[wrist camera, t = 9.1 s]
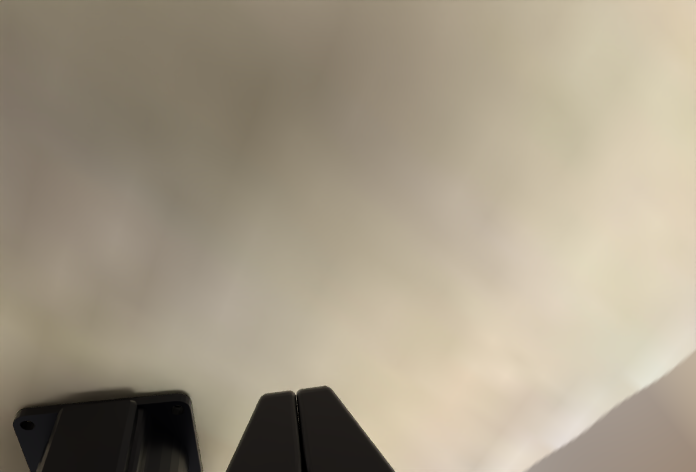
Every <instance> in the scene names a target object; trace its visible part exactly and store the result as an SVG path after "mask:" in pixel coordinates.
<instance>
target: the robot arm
mask: <svg viewBox="0 0 696 472" xmlns="http://www.w3.org/2000/svg"><path fill="white" fill-rule="evenodd" d="M296 397H297V401H296ZM174 406H181V407H174ZM297 408H298V410H297ZM298 418H299V420H298ZM28 421H31V422H28ZM13 427H14V430H15V432H16V435H17V438H18V440H19V443H20V446H21V448H22V451H23V453H24V456H25V459H26V461H27V464H28V466H29V469H30V472H203V468H202V462H201V456H200V450H199V444H198V438H197V432H196V426H195V420H194V414H193V408H192V402H191V400H190V398H189V397H188V396H187V395H184V394H178V393H176V394H166V395H156V396H145V397H135V398H125V399H114V400H104V401H94V402H84V403H73V404H63V405H53V406H42V407H32V408H25V409H22V410H20V411H19V412H18V413H17V415H16V417H15V420H14V422H13ZM299 428H300V429H299ZM226 472H395V471H394V469H393V468H392V467H391V466H390V464H389V463H388V462H387V460H386V459H385V458H384V456H383V455H382V454H381V453H380V451H379V450H378V449H377V447H376V446H375V445H374V443H373V442H372V441H371V440H370V438H369V437H368V436H367V434H366V433H365V432H364V430H363V429H362V428H361V427H360V425H359V424H358V423H357V421H356V420H355V419H354V417H353V416H352V415H351V414H350V412H349V411H348V410H347V408H346V407H345V406H344V404H343V403H342V402H341V401H340V399H339V398H338V397H337V395H336V394H335V393H334V391H333V390H332V389H331V388H330V387H327V386H321V387H313V388H305V389H300V390H299V391H298V392H297V395H295V393H294V392H293V391H282V392H275V393H267V394H264V395H263V396H261V398H260V399H259V401H258V403H257V405H256V408H255V410H254V412H253V414H252V416H251V418H250V421H249V423H248V425H247V427H246V429H245V431H244V434H243V436H242V438H241V440H240V442H239V444H238V447H237V449H236V451H235V453H234V455H233V457H232V460H231V462H230V464H229V466H228V468H227V470H226Z"/></svg>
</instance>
